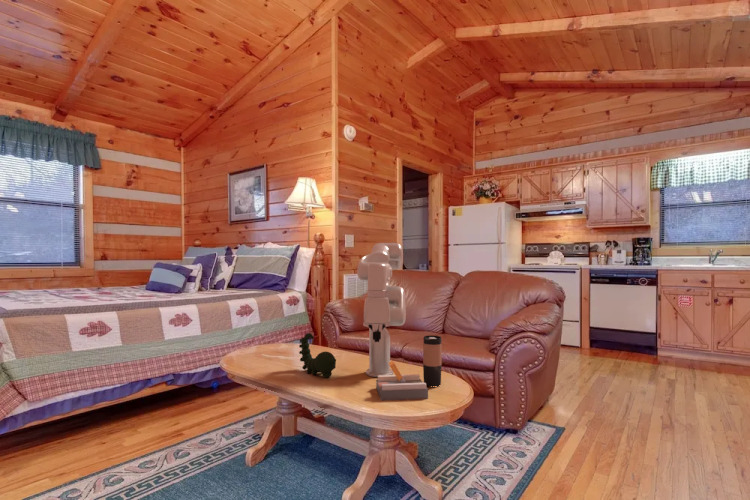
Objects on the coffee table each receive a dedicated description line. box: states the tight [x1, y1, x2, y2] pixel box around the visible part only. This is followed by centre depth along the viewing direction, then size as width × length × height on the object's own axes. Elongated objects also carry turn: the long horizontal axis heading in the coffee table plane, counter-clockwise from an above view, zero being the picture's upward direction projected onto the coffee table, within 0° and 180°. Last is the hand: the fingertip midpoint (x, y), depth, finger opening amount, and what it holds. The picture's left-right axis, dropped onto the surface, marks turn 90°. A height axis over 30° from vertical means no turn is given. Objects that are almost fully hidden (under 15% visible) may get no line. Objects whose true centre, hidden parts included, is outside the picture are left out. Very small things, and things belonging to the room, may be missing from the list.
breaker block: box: [375, 373, 429, 401], centre depth 158 cm, size 14×18×5 cm
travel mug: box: [422, 335, 443, 388], centre depth 169 cm, size 8×8×20 cm
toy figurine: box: [298, 332, 337, 379], centre depth 183 cm, size 9×19×25 cm
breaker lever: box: [389, 360, 405, 383], centre depth 158 cm, size 4×2×9 cm, turn 7°
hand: (376, 341), depth 157 cm, fingers closed
